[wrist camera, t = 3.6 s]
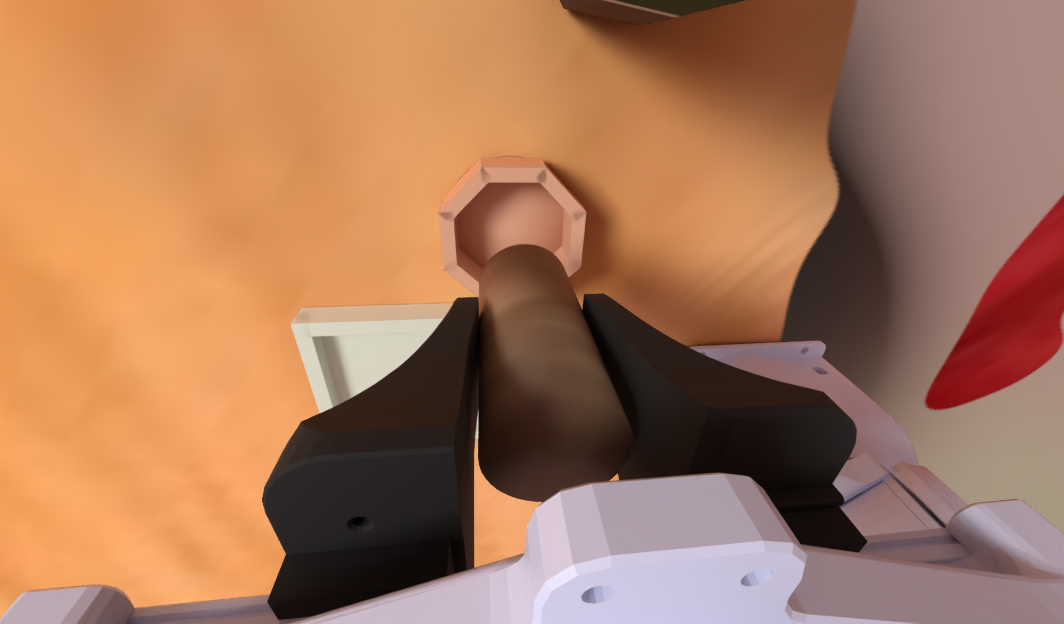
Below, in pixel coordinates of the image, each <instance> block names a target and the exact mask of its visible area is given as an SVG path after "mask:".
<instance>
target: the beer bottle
mask: <svg viewBox="0 0 1064 624" xmlns="http://www.w3.org/2000/svg"><path fill="white" fill-rule="evenodd" d="M740 1H744V0H560V2H561V4H562V6H563V8H564V9H568V10H573V11H577V12H581V13H586V14H590V15H594V16H599V17H603V18H607V19H611V20H616V21H620V22H624V23H629V24H633V25H635V24H650V23H654V22H659V21H663V20H667V19H671V18H675V17H679V16H683V15H687V14H691V13H695V12H699V11H703V10H707V9H712V8H716V7H720V6H724V5H728V4H732V3H736V2H740Z"/></svg>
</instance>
